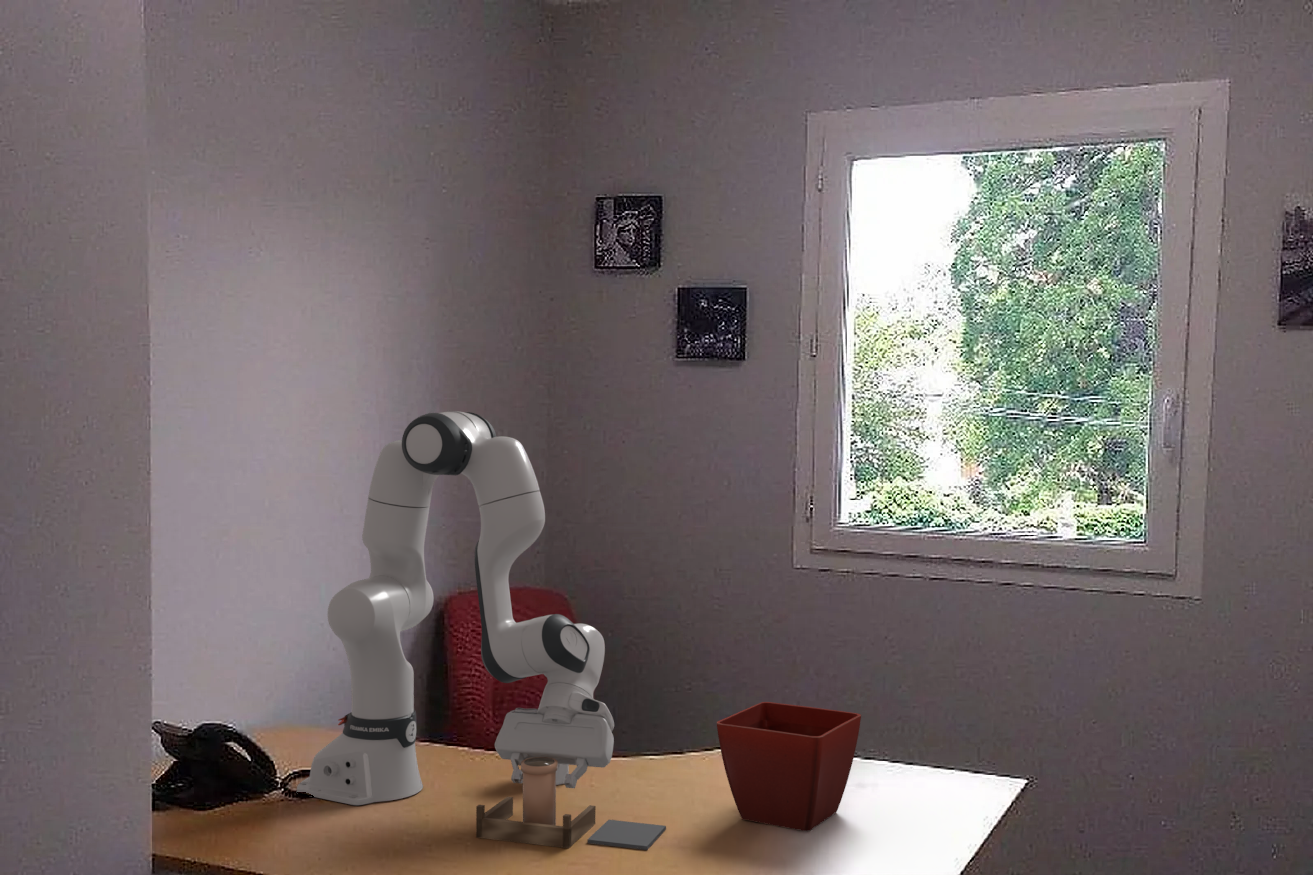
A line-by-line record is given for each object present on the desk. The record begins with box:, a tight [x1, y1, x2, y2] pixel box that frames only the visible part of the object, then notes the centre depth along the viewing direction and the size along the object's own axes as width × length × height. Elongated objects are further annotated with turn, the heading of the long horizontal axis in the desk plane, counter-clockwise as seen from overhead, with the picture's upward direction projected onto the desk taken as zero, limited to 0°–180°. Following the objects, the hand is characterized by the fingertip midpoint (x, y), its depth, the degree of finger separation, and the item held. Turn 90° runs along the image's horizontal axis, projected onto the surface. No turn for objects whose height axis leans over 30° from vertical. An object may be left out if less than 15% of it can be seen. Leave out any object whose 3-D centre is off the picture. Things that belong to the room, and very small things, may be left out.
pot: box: [520, 757, 558, 826], centre depth 197 cm, size 6×6×11 cm
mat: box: [586, 819, 667, 851], centre depth 193 cm, size 10×10×1 cm
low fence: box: [475, 796, 596, 849], centre depth 196 cm, size 16×12×5 cm
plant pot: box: [716, 701, 862, 832], centre depth 204 cm, size 19×19×17 cm
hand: (542, 784), depth 198 cm, fingers open, 8 cm apart
